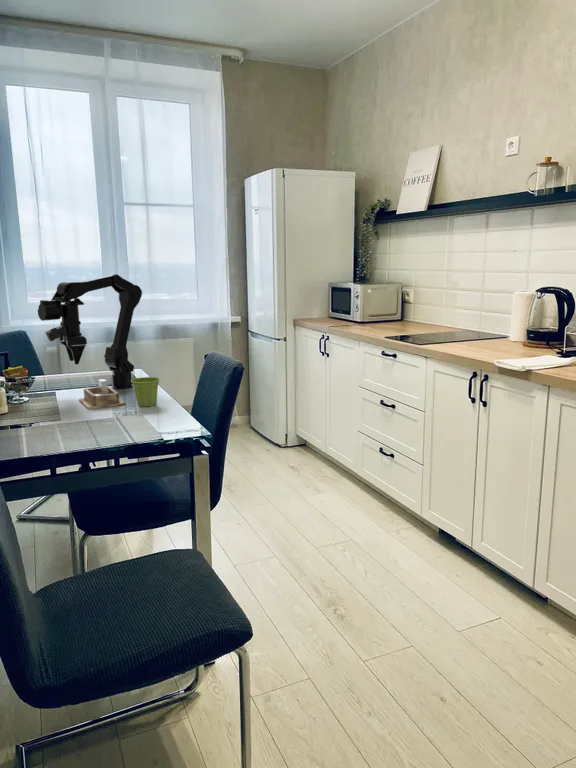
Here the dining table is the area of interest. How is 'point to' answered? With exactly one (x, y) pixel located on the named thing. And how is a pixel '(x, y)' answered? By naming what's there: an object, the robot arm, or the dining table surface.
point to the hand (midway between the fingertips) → (74, 362)
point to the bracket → (102, 387)
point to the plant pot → (146, 390)
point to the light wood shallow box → (100, 398)
